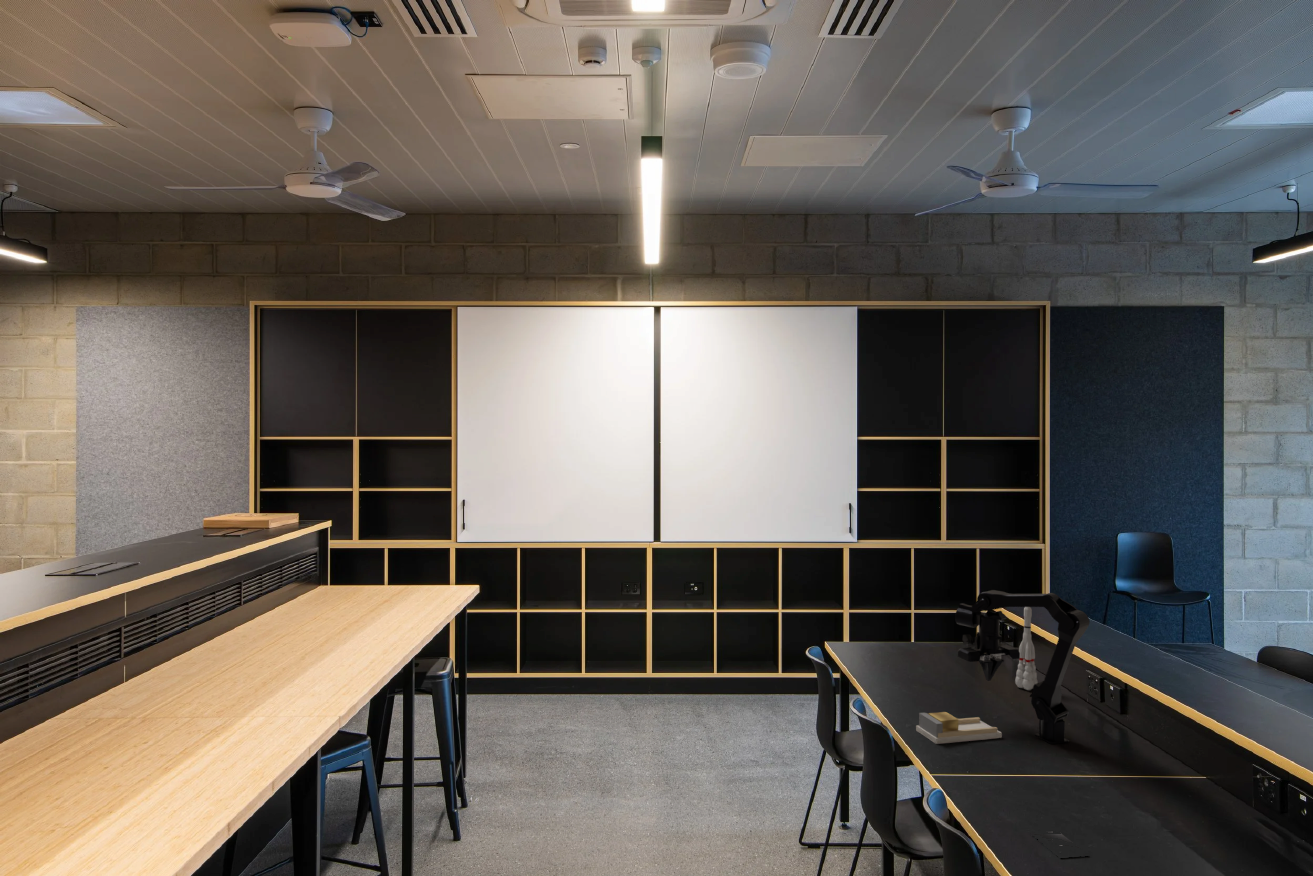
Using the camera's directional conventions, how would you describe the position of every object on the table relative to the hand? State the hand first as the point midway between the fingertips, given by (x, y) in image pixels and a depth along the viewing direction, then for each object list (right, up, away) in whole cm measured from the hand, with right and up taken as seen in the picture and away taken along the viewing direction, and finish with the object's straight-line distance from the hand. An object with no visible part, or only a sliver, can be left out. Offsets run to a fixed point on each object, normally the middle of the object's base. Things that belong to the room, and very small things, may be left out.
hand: (988, 680), depth 238 cm
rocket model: (+26, -13, +29) cm, 41 cm away
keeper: (-20, -10, -14) cm, 26 cm away
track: (-14, -12, -13) cm, 23 cm away
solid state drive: (-17, -13, -73) cm, 76 cm away
